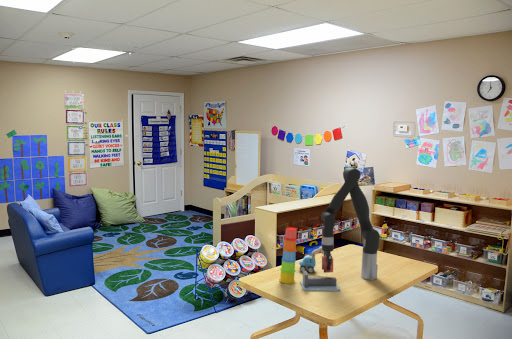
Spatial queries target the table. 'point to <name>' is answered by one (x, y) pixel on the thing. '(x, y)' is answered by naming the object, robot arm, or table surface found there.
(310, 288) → the base board
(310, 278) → the coupler rail
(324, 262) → the red slotted block
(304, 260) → the toy excavator
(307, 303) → the table surface
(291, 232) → the stacking cups
